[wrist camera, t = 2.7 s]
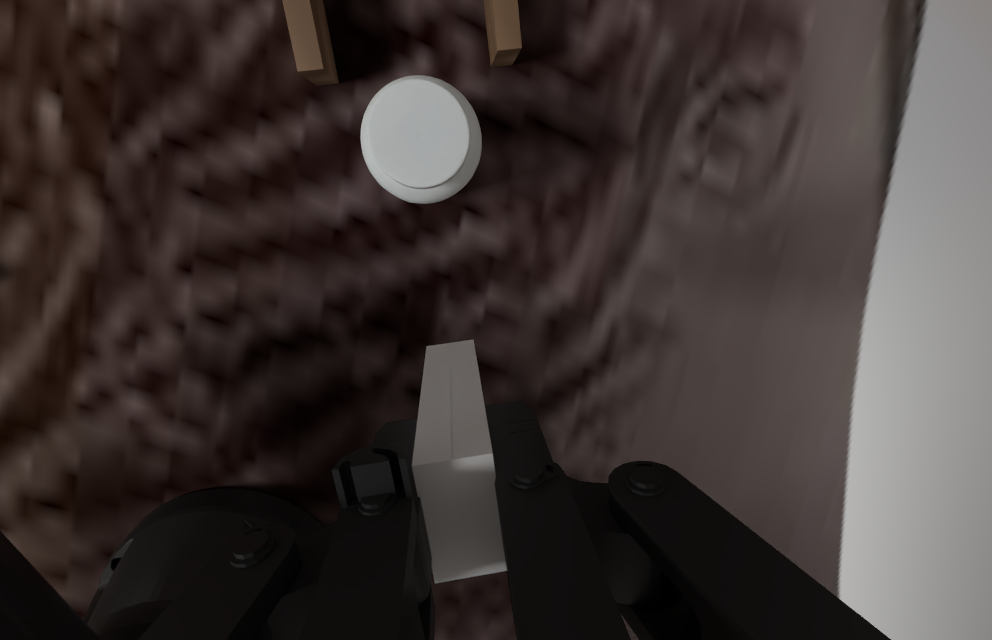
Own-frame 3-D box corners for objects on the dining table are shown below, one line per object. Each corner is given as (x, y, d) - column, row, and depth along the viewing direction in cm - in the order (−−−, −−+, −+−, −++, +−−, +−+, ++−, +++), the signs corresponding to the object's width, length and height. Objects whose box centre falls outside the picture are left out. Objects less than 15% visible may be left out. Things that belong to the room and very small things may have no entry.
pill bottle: (463, 208, 28) (472, 221, 19) (373, 188, 28) (338, 191, 18) (482, 113, 27) (501, 78, 18) (388, 90, 26) (358, 40, 17)
